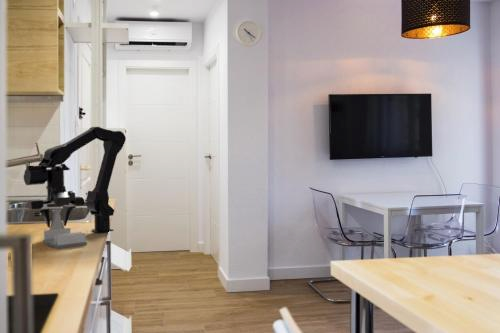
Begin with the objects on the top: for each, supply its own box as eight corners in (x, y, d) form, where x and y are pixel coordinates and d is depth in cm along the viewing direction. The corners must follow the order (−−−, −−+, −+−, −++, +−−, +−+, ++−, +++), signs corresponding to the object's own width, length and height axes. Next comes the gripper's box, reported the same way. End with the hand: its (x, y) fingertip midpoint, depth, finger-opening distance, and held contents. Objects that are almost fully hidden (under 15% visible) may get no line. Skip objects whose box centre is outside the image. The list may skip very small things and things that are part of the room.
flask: (71, 236, 195) (70, 208, 194) (62, 239, 187) (61, 211, 187) (52, 235, 195) (51, 208, 195) (42, 239, 188) (41, 211, 188)
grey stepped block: (42, 242, 182) (42, 230, 182) (71, 238, 188) (71, 227, 188) (56, 248, 171) (56, 236, 171) (86, 244, 178) (86, 232, 177)
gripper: (35, 186, 178) (37, 232, 179) (89, 183, 190) (90, 226, 191) (25, 184, 187) (27, 228, 188) (77, 181, 199) (79, 222, 199)
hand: (56, 226), depth 191 cm, fingers open, 5 cm apart
